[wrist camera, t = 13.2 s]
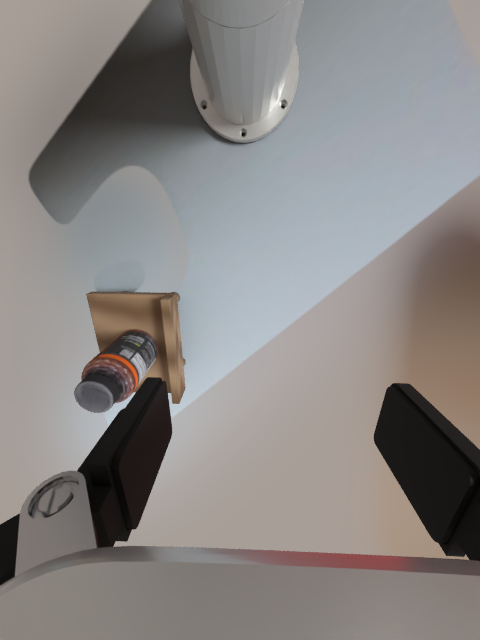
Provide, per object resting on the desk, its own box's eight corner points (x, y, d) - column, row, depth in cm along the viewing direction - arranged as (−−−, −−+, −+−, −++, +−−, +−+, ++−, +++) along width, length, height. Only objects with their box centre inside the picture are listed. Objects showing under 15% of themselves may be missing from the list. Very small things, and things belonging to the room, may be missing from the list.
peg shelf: (111, 284, 37) (74, 298, 29) (185, 285, 37) (168, 300, 29) (127, 369, 43) (100, 401, 35) (192, 371, 43) (179, 403, 35)
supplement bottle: (122, 363, 35) (69, 419, 25) (116, 327, 33) (55, 371, 23) (161, 365, 35) (125, 422, 25) (158, 328, 33) (116, 374, 23)
